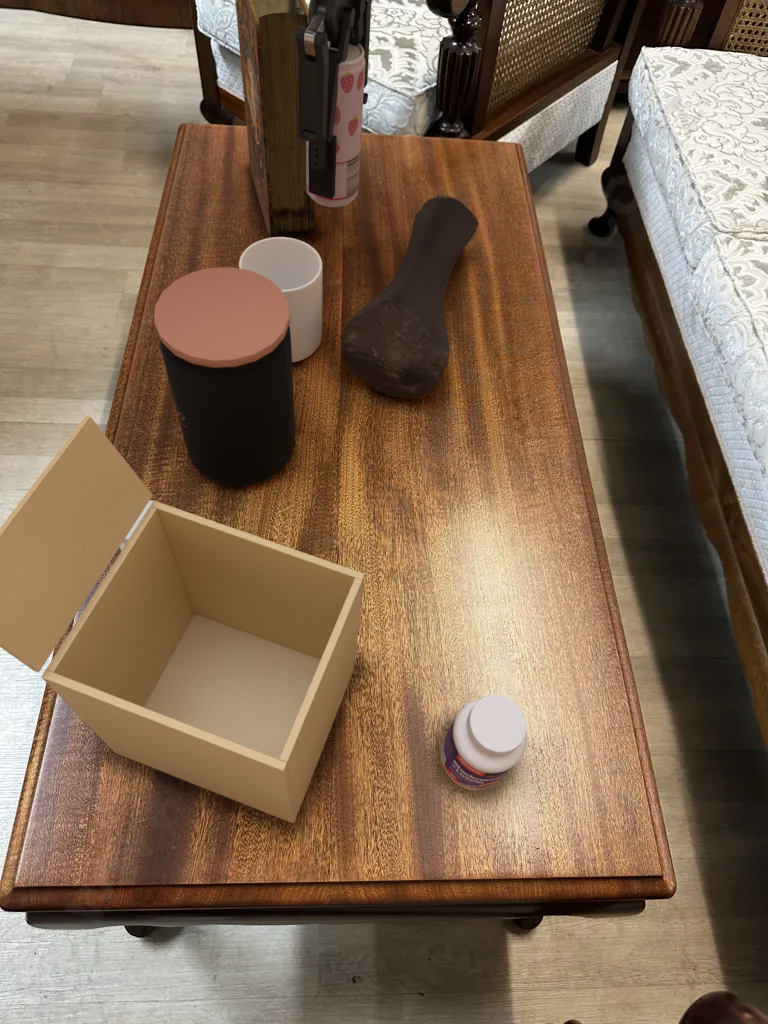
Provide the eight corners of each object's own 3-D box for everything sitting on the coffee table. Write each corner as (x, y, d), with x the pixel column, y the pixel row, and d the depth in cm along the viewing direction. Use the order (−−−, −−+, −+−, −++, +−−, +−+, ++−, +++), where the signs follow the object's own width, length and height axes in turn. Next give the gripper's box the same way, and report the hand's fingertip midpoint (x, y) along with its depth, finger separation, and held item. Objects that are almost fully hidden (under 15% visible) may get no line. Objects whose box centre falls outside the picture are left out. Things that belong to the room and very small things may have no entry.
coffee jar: (218, 394, 76) (192, 251, 60) (312, 426, 74) (310, 287, 59) (168, 471, 70) (126, 335, 55) (269, 506, 69) (255, 377, 54)
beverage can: (306, 176, 81) (305, 31, 69) (356, 178, 82) (365, 35, 69) (306, 207, 78) (305, 61, 66) (358, 209, 79) (368, 65, 66)
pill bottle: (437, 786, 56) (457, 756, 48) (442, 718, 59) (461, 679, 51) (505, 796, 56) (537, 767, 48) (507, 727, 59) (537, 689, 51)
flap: (39, 672, 40) (34, 671, 41) (153, 495, 47) (148, 494, 47) (-54, 606, 35) (-60, 605, 35) (90, 415, 42) (85, 415, 42)
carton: (114, 752, 56) (40, 677, 41) (193, 609, 63) (153, 499, 48) (293, 823, 54) (283, 771, 39) (354, 668, 61) (365, 573, 46)
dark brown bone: (399, 425, 78) (448, 284, 95) (461, 370, 70) (501, 228, 88) (317, 366, 74) (383, 232, 92) (371, 302, 67) (432, 169, 84)
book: (248, 165, 97) (228, -56, 76) (288, 161, 98) (279, -58, 77) (271, 243, 89) (255, 19, 68) (314, 238, 90) (312, 16, 69)
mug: (209, 361, 78) (194, 286, 69) (219, 308, 82) (207, 231, 74) (320, 368, 79) (319, 294, 70) (324, 315, 83) (324, 239, 74)
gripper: (341, -30, 54) (333, 237, 73) (417, -110, 64) (392, 143, 83) (249, -53, 55) (265, 216, 74) (338, -129, 64) (331, 126, 84)
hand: (332, 177), depth 78 cm, fingers closed on beverage can, 6 cm apart
